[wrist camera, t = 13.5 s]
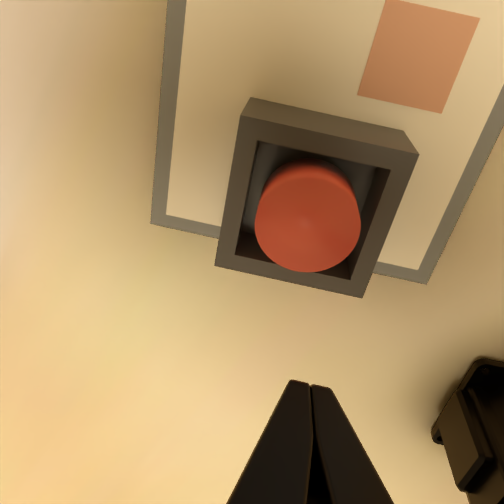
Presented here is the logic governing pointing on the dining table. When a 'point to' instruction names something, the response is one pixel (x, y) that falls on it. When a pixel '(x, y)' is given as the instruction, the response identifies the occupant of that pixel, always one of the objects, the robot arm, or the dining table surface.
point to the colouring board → (333, 100)
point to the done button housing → (327, 149)
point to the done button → (307, 216)
